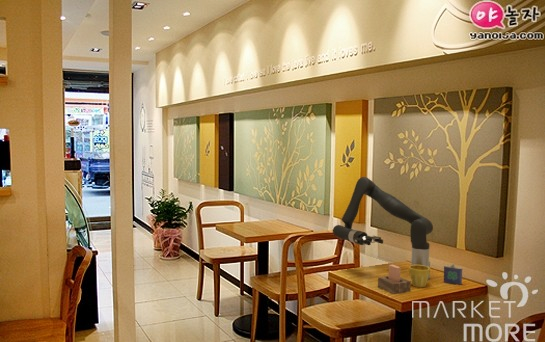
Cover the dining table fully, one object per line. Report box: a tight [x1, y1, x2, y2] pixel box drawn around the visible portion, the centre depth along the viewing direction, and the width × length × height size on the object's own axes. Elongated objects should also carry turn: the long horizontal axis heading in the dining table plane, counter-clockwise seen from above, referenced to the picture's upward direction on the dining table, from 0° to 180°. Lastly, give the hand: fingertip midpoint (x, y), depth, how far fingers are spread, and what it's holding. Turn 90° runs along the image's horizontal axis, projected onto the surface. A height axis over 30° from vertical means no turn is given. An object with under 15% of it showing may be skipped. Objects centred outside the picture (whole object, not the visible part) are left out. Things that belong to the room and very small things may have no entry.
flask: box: [443, 263, 463, 286], centre depth 254 cm, size 9×3×11 cm, turn 63°
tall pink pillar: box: [387, 264, 401, 283], centre depth 244 cm, size 2×6×12 cm, turn 27°
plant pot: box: [408, 265, 431, 288], centre depth 250 cm, size 10×10×10 cm
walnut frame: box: [377, 275, 412, 295], centre depth 244 cm, size 11×13×5 cm
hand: (376, 242), depth 256 cm, fingers open, 8 cm apart
